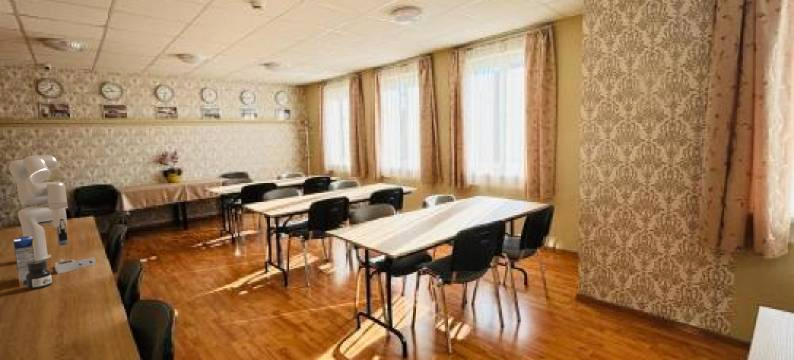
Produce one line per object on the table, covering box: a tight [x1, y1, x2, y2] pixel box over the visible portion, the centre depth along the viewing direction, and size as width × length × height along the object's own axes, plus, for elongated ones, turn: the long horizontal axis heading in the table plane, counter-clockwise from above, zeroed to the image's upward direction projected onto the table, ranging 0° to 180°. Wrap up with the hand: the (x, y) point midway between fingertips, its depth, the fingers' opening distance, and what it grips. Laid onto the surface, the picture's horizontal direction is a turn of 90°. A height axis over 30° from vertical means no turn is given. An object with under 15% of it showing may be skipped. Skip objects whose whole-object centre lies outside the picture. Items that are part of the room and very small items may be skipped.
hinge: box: [54, 256, 96, 275], centre depth 219 cm, size 17×17×4 cm
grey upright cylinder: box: [56, 230, 69, 246], centre depth 211 cm, size 4×4×7 cm
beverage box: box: [13, 235, 36, 287], centre depth 196 cm, size 7×11×22 cm, turn 44°
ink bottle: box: [26, 259, 53, 290], centre depth 189 cm, size 10×9×12 cm
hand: (62, 239), depth 211 cm, fingers closed on grey upright cylinder, 4 cm apart
